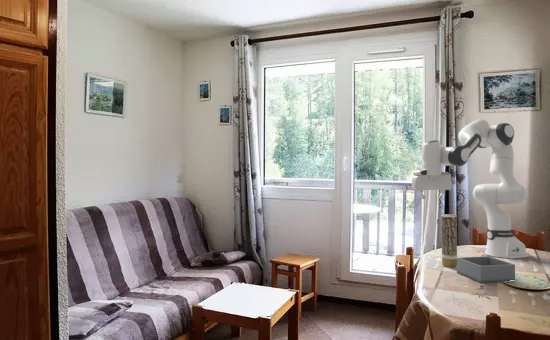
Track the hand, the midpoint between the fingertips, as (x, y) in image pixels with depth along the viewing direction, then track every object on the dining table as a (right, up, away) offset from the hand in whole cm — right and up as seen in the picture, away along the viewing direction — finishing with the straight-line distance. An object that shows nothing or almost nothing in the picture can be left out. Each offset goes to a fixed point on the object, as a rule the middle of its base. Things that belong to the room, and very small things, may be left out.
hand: (431, 198), depth 196 cm
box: (+12, -32, -27) cm, 44 cm away
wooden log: (+5, -33, -8) cm, 34 cm away
